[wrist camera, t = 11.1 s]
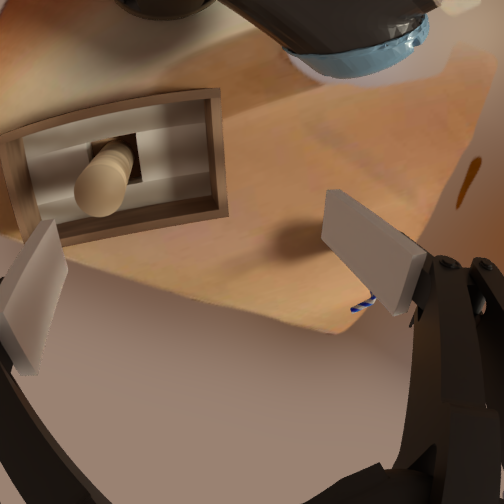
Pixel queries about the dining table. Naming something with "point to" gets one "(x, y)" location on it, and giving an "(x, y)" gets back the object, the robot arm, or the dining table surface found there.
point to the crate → (138, 188)
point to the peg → (105, 180)
